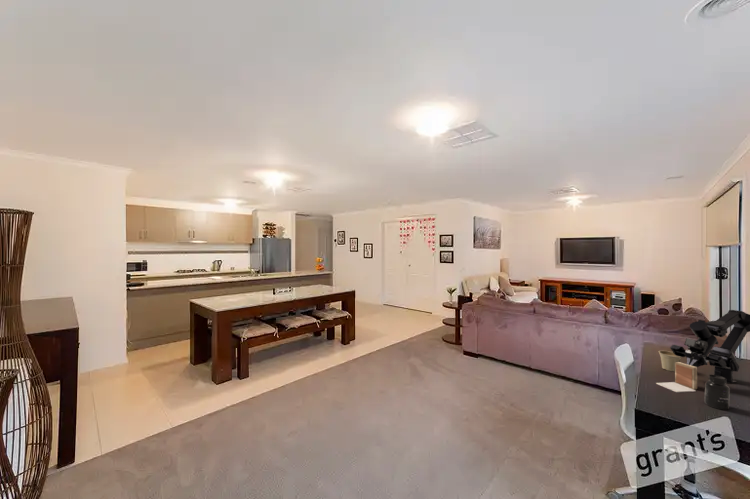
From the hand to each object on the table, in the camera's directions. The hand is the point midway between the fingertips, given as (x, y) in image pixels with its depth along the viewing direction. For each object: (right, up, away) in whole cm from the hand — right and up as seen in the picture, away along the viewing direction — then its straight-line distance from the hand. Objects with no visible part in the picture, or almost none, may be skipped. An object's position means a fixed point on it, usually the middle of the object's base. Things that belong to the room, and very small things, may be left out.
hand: (688, 369), depth 147 cm
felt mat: (-8, -8, -2) cm, 11 cm away
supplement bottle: (-8, -8, -19) cm, 22 cm away
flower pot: (+11, -8, +20) cm, 25 cm away
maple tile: (-1, -8, 0) cm, 8 cm away
